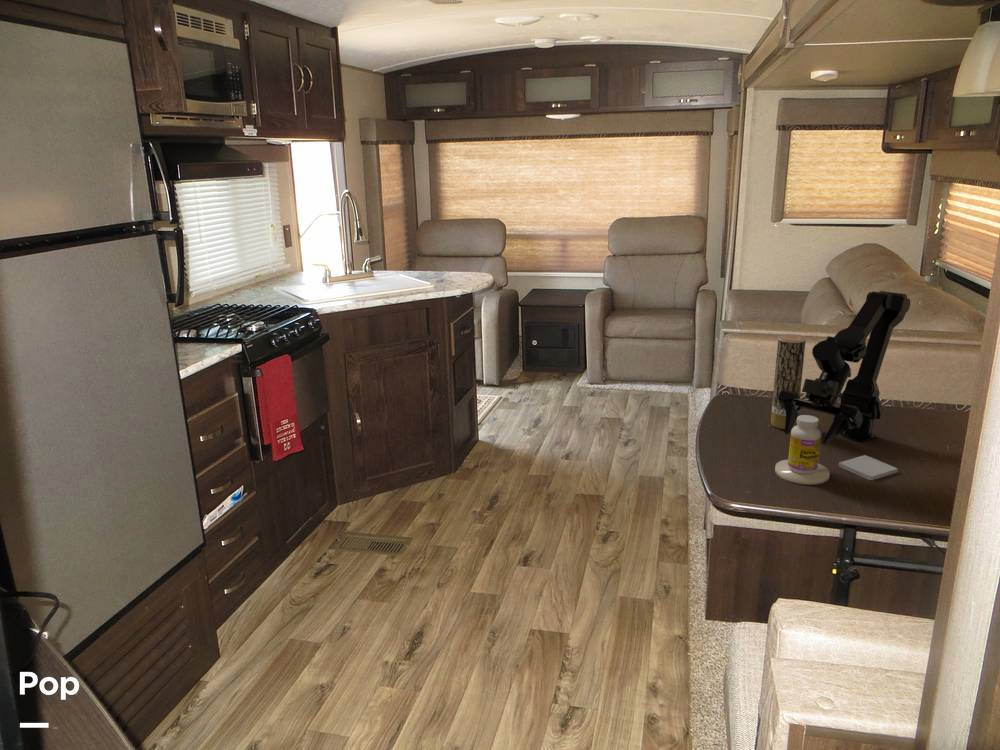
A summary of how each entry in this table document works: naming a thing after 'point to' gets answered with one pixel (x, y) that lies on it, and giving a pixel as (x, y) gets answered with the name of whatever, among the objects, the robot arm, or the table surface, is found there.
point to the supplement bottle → (805, 445)
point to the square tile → (868, 467)
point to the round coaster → (807, 479)
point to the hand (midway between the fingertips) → (804, 439)
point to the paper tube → (787, 373)
